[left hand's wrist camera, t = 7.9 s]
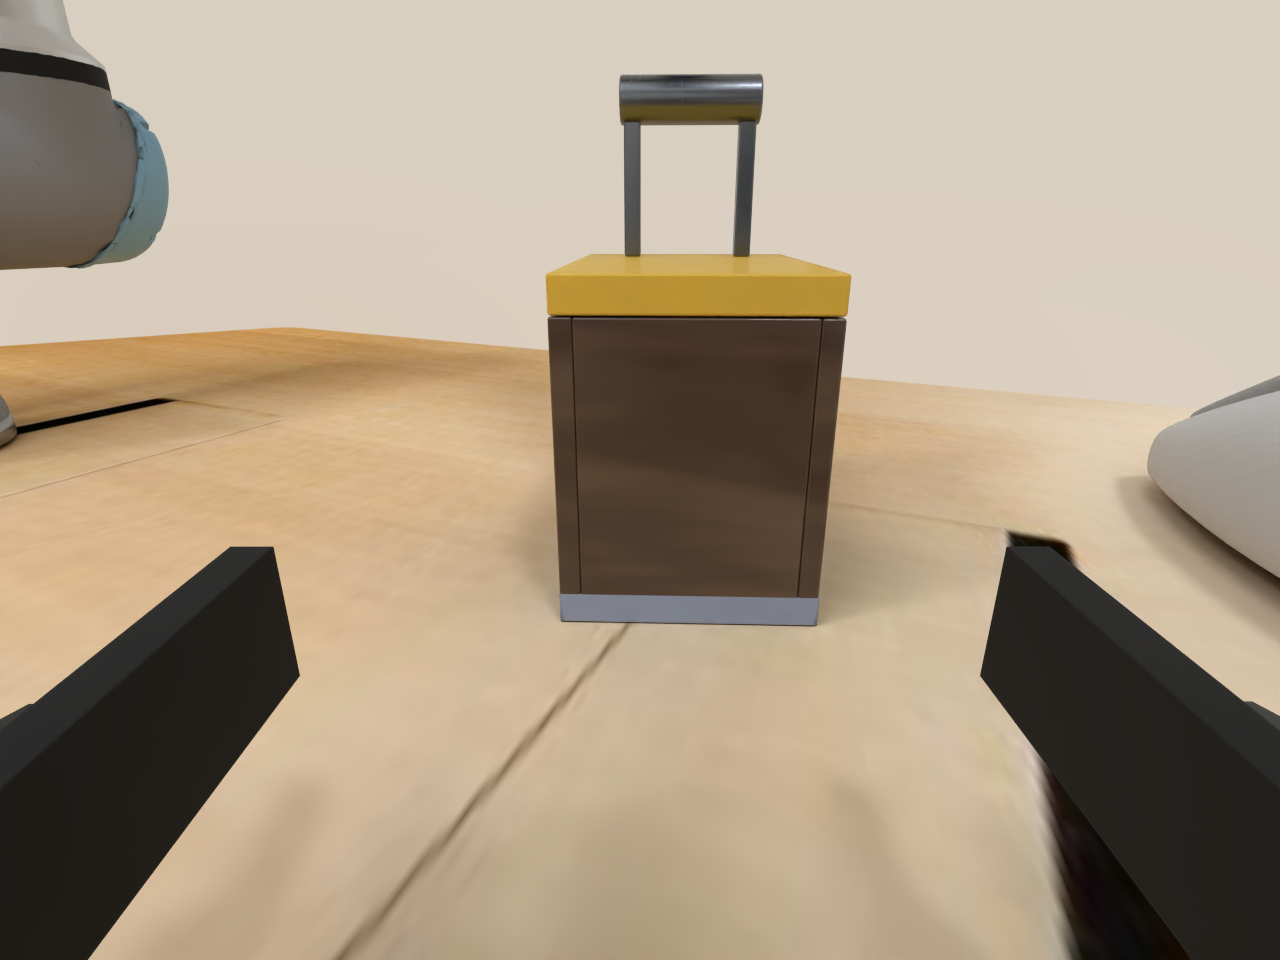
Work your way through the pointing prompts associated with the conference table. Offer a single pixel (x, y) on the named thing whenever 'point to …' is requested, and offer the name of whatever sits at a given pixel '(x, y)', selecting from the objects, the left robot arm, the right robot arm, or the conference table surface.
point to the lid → (694, 277)
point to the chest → (693, 465)
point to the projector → (1228, 470)
